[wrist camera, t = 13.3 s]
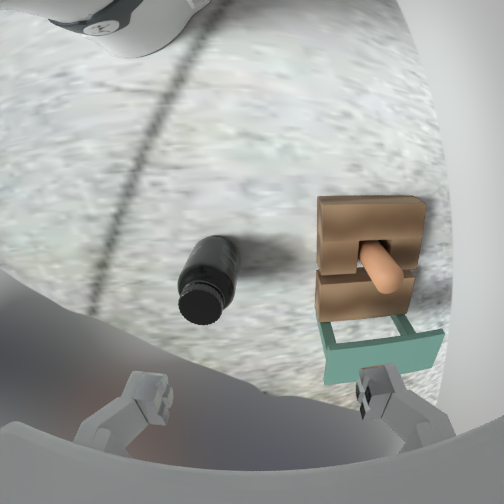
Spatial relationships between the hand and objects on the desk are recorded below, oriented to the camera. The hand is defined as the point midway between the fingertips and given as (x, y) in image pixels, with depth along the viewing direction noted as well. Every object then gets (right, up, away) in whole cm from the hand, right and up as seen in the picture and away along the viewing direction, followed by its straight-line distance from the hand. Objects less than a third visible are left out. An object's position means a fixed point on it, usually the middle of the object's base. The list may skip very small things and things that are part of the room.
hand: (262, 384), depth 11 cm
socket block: (+15, +5, +29) cm, 33 cm away
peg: (+15, +6, +29) cm, 33 cm away
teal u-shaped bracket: (+16, -2, +32) cm, 36 cm away
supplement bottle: (-5, +5, +30) cm, 31 cm away
